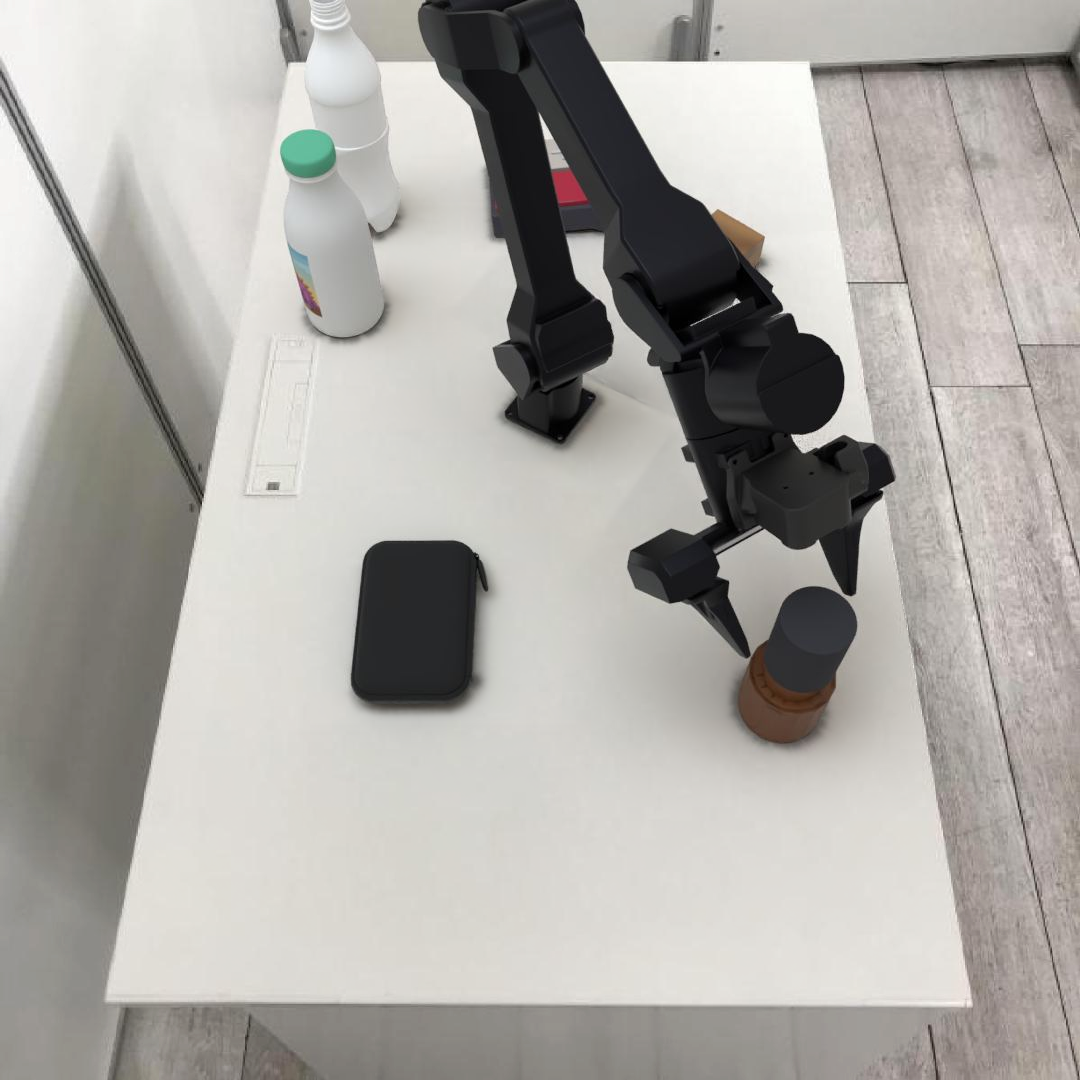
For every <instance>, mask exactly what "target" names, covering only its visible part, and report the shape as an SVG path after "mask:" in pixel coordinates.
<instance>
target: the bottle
mask: <svg viewBox="0 0 1080 1080" xmlns="http://www.w3.org/2000/svg"><path fill="white" fill-rule="evenodd" d="M767 642H768V639H766V640H765V641H764V642H762V643H760V644H759V645H758V646H757V647H756V648H755V650H754V652H753V654H751V657H750V659H749V661H748V664H747V667H746V670H745V673H744V675H743V679H742V680H741V684H740V687H739V689H738V697H737V706H738V711H739V714H740V717H741V719H742V721H743V722H744V724H745V725H746V727H748V729H749V730H750V731H751V732H753V733H754V734H755V735H757V736H758V737H760V738H762V739H764V740H765V741H769V742H772V743H778V744H789V743H793V742H796V741H799V740H801V739H804V738H805V737H806V736H808V735H809V734H810V733H811V732H812V731H813V730H814V729H815V728H816V726H817V724H818V722H819V721H820V718H821V716H822V714H823V713H824V711H825V709H826V707H827V706H828V704H829V702H830V700H831V698H832V696H833V694H834V692H835V691H836V688H837V672H836V673H835V675H834V677H833V679H832V680H831V681H830V683H829V684H828V685H826V686H825V687H824V688H822V689H820V690H818V691H815V692H811V693H798V692H793V691H790V690H788V689H786V688H784V687H782V686H780V685H779V684H778V683H777V682H776V681H775V680H774V679H773V678H772V677H771V676H770V674H769V673H768V671H767V669H766V666H765V662H764V651H765V647H766V644H767Z"/></svg>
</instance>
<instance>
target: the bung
mask: <svg viewBox="0 0 1080 1080" xmlns="http://www.w3.org/2000/svg"><path fill="white" fill-rule="evenodd" d="M857 633H858V618H857V614H856V611H855V610H854V607H853V606H852V605H851V603H850V602H849V601H848V600H847V598H845V597H844V596H843V595H841V594H840V593H839V592H837V591H835V590H833V589H831V588H828V587H825V586H820V585H819V586H817V585H810V586H809V585H808V586H804V587H800V588H798V589H796V590H794V591H792V592H790V594H788V595H787V597H785V599H784V600H783V602H782V603H781V605H780V608H779V611H778V613H777V616H776V619H775V621H774V623H773V626H772V629H771V631H770V634H769V637H768V638H767V640H768V642H767V644H766V647H765V651H764V662H765V666H766V669H767V671H768V673H769V674H770V676H771V677H772V678H773V679H774V680H775V681H776V682H777V683H778V684H779V685H780V686H782V687H784V688H786V689H788V690H790V691H793V692H798V693H811V692H815V691H818V690H820V689H822V688H824V687H825V686H826V685H828V684H829V683H830V681H831V680H832V679H833V677H834V675H835V673H836V674H837V671H838V670H839V668H840V666H841V664H842V662H843V660H844V659H845V657H846V655H847V653H848V651H849V649H850V647H851V646H852V643H853V641H854V640H855V638H856V635H857Z"/></svg>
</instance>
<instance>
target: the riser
mask: <svg viewBox="0 0 1080 1080" xmlns="http://www.w3.org/2000/svg"><path fill="white" fill-rule="evenodd" d="M711 215H712V216H713V218H714V219H715V221H716V222H717V223H718V225H719V226H720V228H721V229H722V231H723V232H724V233H725V235H726V236H727V237H728V238H729V239H730V240H731V241H732V242H733V243H734V244H735V246H736V247H737V248H738V249H739V251H740V252H741V253H742V254H743V256H744V257H745V258H746V259H747V260H748V261H749V262H750V264H751V265H752V266H753V267H754V268H755V267H756V266H757V265H758V264H759V263H760V262H761V257H762V254H763V253H762V252H763V247H764V243H765V239H766V236H765V235H764V234H762V233H760V232H758V231H757V230H755V229H754V228H752V227H750V226H748V225H747V224H744V223H743V222H741V221H739V220H738V219H736V218H734V217H733V216H731V215H729V214H727V213H726V212H724V211H722V210H720V209H719V208H717V209H716V210H715V211H714V212H713V213H711Z"/></svg>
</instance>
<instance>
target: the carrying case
mask: <svg viewBox="0 0 1080 1080" xmlns="http://www.w3.org/2000/svg"><path fill="white" fill-rule="evenodd" d="M478 577H479V581H480V583H481V586H482V589H483V591H484V592H485V593H488V591H489V582H488V578H487V577H488V576H487V573H486V568H485V566H484V563H483V561H482V560H481V559H480V555H479V554H478V553H477V552H475V551H474V550H473V549H472V548H471V547H470V546H468V545H467V544H466V543H464V542H462V541H459V540H454V539H451V540H450V539H447V540H446V539H445V540H444V539H442V540H439V539H438V540H437V539H436V540H431V539H430V540H429V539H428V540H424V539H423V540H382V541H379V542H376V543H374V544H373V545H372V546H370V547H369V548H368V549H367V550H366V551H365V553H364V556H363V559H362V566H361V575H360V584H359V594H358V604H357V614H356V623H355V632H354V634H355V635H354V642H353V650H352V651H353V652H352V659H351V660H352V661H351V671H350V686H351V689H352V691H353V692H354V694H355V695H356V697H357V698H358V699H360V700H361V701H363V702H364V703H368V704H449V703H452V702H456V701H457V700H459V699H460V698H462V697H463V696H465V694H466V693H467V692H468V690H469V689H470V686H471V684H472V682H473V679H474V678H473V676H474V675H473V673H474V671H473V670H474V666H473V665H474V650H475V649H474V648H475V630H476V629H475V628H476V627H475V626H476V609H477V603H476V602H477V586H478Z"/></svg>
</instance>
